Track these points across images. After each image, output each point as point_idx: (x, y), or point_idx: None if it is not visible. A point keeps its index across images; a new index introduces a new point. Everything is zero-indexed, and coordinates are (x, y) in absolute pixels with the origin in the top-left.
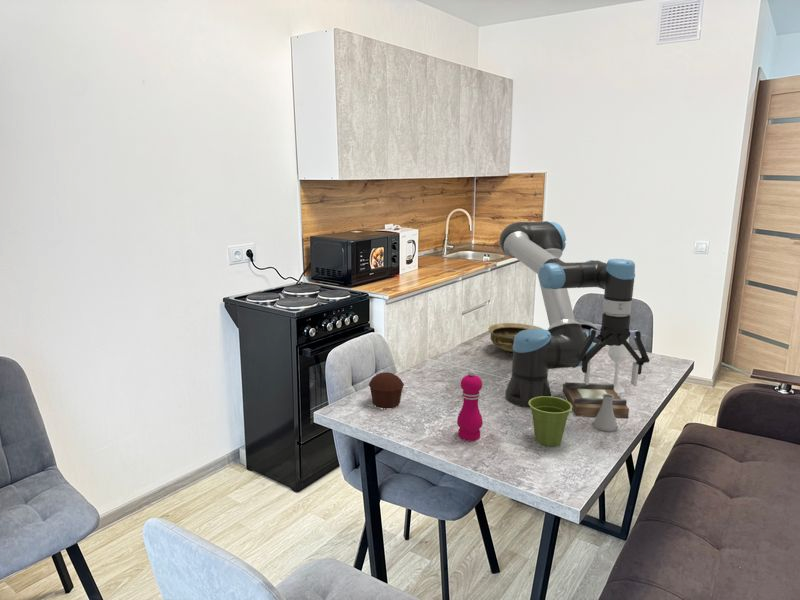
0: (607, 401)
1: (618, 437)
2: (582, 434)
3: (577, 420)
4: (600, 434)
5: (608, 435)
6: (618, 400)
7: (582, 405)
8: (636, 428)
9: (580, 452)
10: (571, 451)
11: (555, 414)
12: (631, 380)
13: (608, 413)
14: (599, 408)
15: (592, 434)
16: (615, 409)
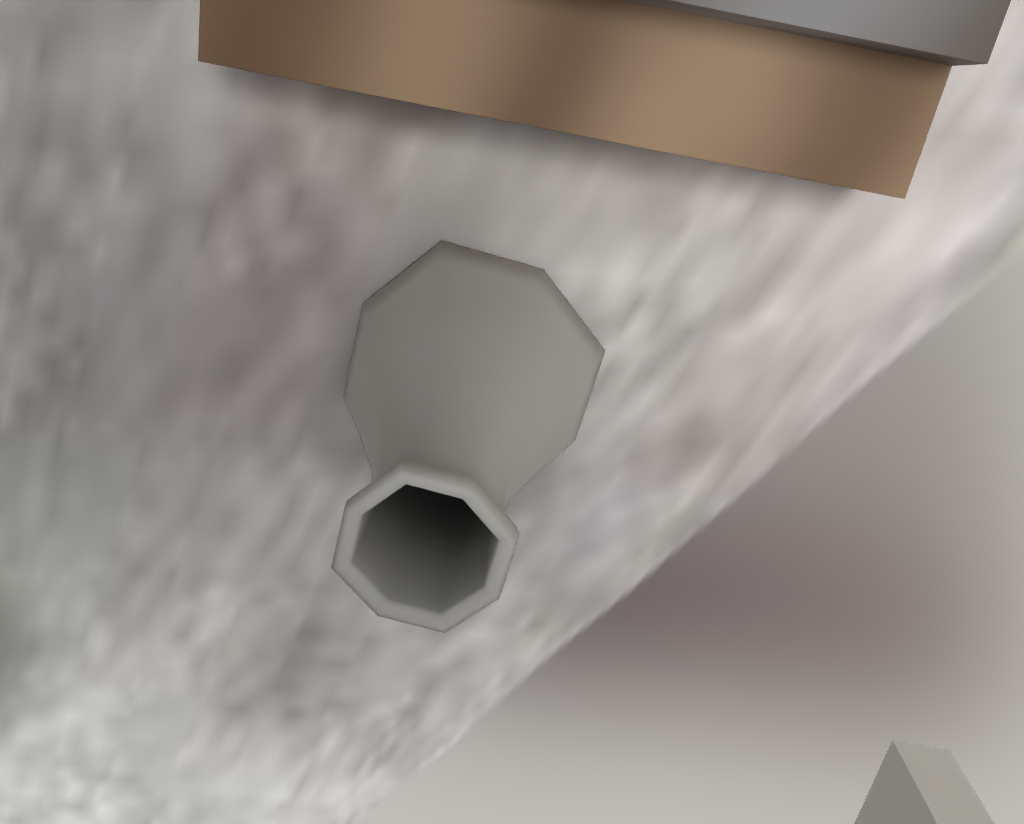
0: (402, 569)
1: None
2: (190, 495)
3: (230, 192)
4: None
5: None
6: (864, 32)
7: (299, 12)
8: (778, 434)
9: (93, 745)
10: (29, 727)
11: None
12: (910, 813)
13: (443, 511)
14: (512, 121)
15: (284, 504)
16: (723, 161)
